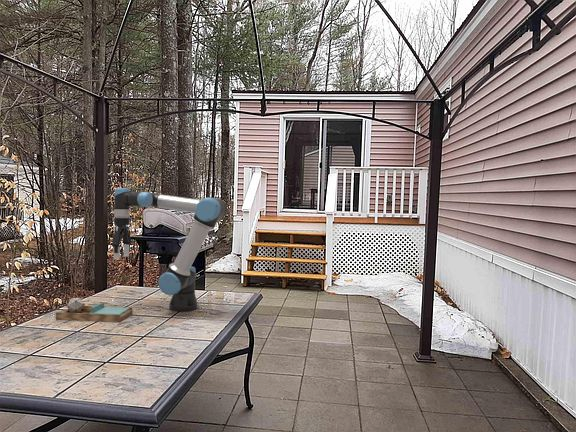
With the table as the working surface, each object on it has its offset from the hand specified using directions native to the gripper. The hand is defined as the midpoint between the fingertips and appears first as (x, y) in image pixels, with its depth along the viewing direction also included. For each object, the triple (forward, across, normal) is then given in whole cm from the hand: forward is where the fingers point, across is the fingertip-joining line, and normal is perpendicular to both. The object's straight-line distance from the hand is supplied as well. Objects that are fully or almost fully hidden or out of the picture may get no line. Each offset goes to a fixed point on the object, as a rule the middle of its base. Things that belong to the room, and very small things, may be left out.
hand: (121, 257), depth 218 cm
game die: (+24, +14, -14) cm, 31 cm away
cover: (+25, +16, 0) cm, 29 cm away
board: (+27, +15, -7) cm, 32 cm away
